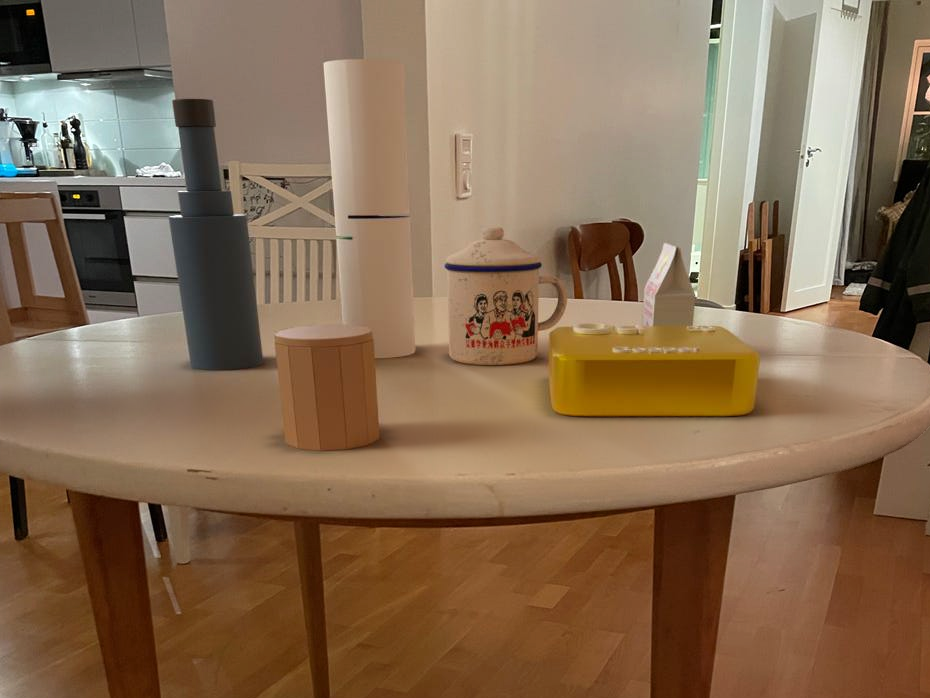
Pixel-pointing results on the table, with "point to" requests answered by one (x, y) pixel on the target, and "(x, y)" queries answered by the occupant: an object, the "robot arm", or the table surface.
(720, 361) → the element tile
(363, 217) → the cylindrical container
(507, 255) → the teacup with lid
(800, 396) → the table surface
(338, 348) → the light wood cylinder
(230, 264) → the water bottle
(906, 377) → the table surface
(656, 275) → the milk carton
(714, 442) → the table surface
